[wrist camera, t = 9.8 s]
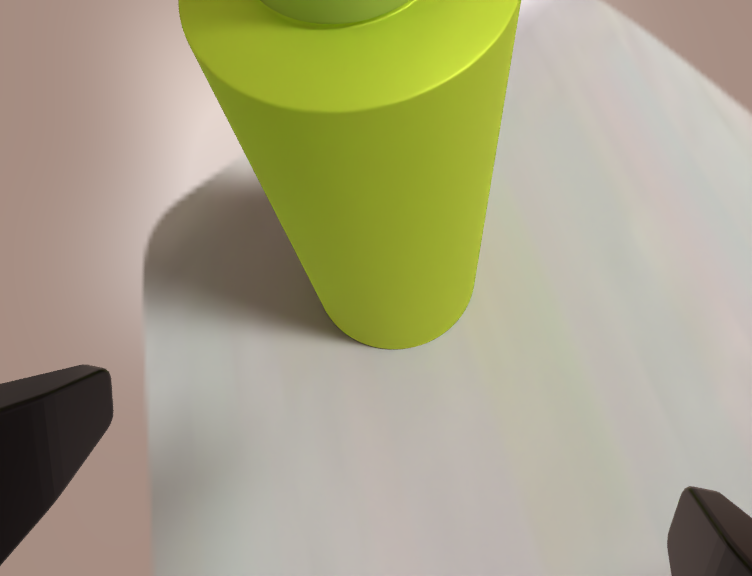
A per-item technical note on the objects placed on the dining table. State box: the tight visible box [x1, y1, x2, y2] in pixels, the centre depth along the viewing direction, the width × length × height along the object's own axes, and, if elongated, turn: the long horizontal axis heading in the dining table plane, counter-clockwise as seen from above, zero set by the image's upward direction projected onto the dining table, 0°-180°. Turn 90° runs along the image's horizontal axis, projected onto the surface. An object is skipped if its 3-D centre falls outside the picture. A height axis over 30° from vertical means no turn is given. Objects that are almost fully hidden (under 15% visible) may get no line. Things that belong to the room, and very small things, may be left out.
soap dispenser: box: [179, 0, 521, 349], centre depth 13 cm, size 6×7×20 cm
